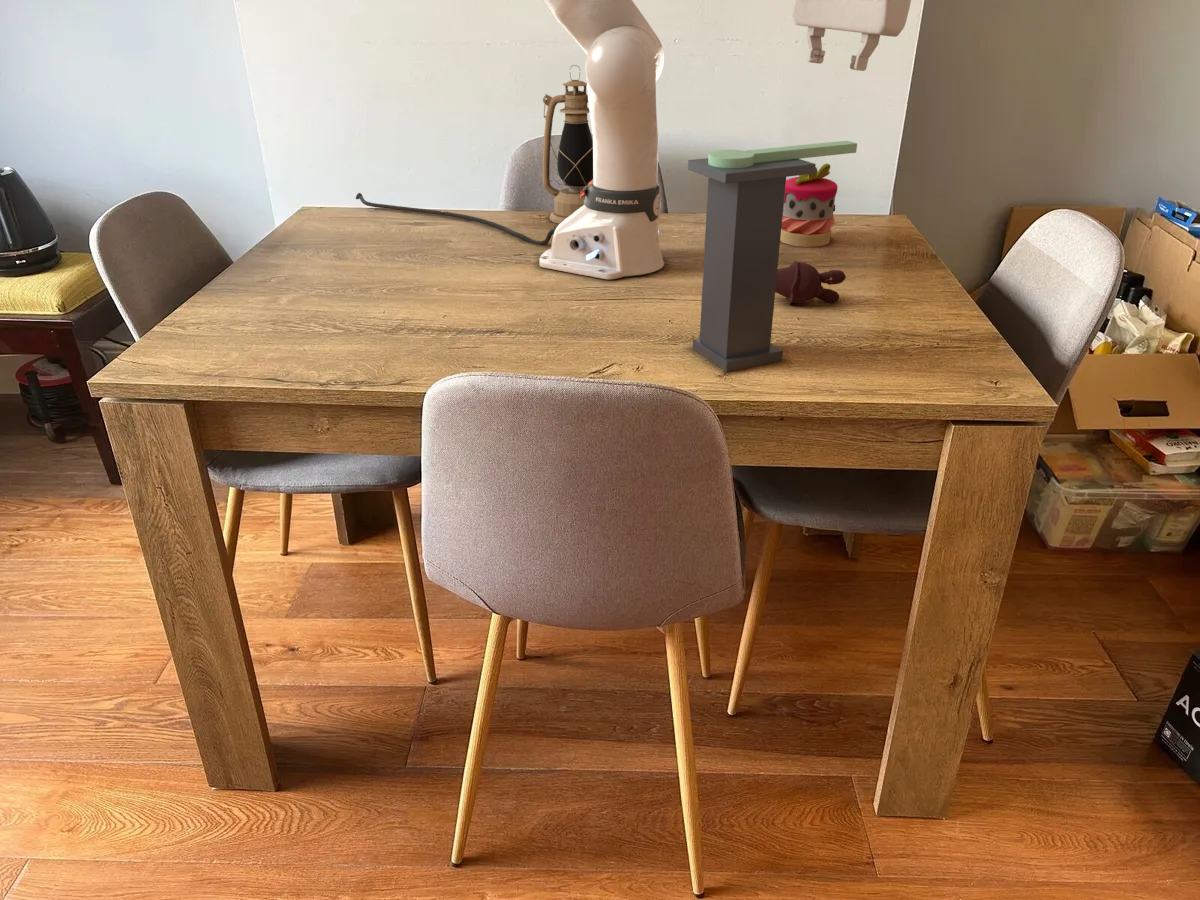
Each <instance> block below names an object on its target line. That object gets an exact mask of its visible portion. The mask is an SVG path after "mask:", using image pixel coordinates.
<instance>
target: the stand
mask: <svg viewBox="0 0 1200 900" xmlns="http://www.w3.org/2000/svg"><path fill="white" fill-rule="evenodd" d="M816 165H817V164H816V163H814V162H811V161H807V160H805V159H802V158H801V159H792V160H783V161H773V162H764V163H754V165H753V166H751V167H747V168H738V169H729V168H718V167H713V166H711V165H709V164H708V157H706V158H694V159H688V160H687V170H688V171H690V172H693V173H696V174H699V175H701V176H703V177H706V178H707V197H706V213H705V214H706V216H705V230H704V231H705V233H704V252H703V268H702V269H703V270H702V288H701V309H700V324H699V337H697V338H692V350H693V351H695V352H697V353H698V354H699V355H701V356H702V357H704V358H705V359H707V360H708V361H710V362H711V363H712V364H713V365H715V366H717V367H718V368H720V370H723V371H724V372H726V373H729V372H733V371H737V370H738V371H739V370H743V369H747V368H754V367H757V366H763V365H767V364H772V363H777V362H781V361H783V356H784V355H783V354H784V350H783V349H781V348H779V347H778V346H776V345H774V344H773V343H771V341H772V331H773V321H774V310H775V299H776V292H775V290H776V280H777V269H779V258H780V247H781V241H780V238H781V227H782V217H783V207H784V196H785V186H786V180H787V177H788V178H789V177H794V176H795V177H799V175H806V174H814V173H815V167H816Z"/></svg>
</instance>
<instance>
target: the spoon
mask: <svg viewBox="0 0 1200 900" xmlns="http://www.w3.org/2000/svg"><path fill="white" fill-rule="evenodd" d="M857 149H858V143H857V142H854V141H850V140H839V141H828V142H818V143H810V144H809V143H807V144H797V145H789V146H778V147H769V148H768V147H767V148H760V149H748V150H743V149H741V150H740V149H718V150H713V151H710V152H708V154H707V155H708V156H707V158H708V164H709V165H711V166H713V167H718V168H729V169H738V168H747V167H751V166H753V165H754V163H764V162H773V161H783V160H792V159H801V160H802V159H809V158H820V157H829V156H837V155H848V154H856V153H857Z"/></svg>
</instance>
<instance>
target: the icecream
mask: <svg viewBox="0 0 1200 900" xmlns="http://www.w3.org/2000/svg"><path fill="white" fill-rule="evenodd" d="M846 279H847V276H846V274H845V272H844V271H842V270H840V269H830V270H829V271H824V272H819V271H818V269H817V268H816V267H815V266H814V265H813V266H812V265H811V264H809V263H806V262H802V261H797V259H796V260H794V261H793V263H791V264H789V266H785V267H782V268H778V269H777V280H776V290H775V294H778V295H780V296H782V297H784V298H785V300H786V301H787V304H788V305H791V304H792V303H794V304H803V303H807V302H809V301H812V300H813V299H815V298H816V299H817V300H820V301H821V302H824V303H830V304H833V303H836V302H838V301H840V294H839V293H838V291H836V290H833V289H831V288H824V286H823V285H822V284H824V285H825V284H827V285H828V286H831V285H839V284H842V283H843V282H844V281H846Z"/></svg>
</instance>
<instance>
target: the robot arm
mask: <svg viewBox="0 0 1200 900" xmlns="http://www.w3.org/2000/svg"><path fill="white" fill-rule="evenodd" d="M543 2H544V4H545V5H546V7H547V8H548V9H549V11H550V12H551V14H552V15H553V17H554V19H555V20H556V22H558V24H560V25H561V26H562V27H563V28H564V29H565V31H566V32H567V33H568V34H569V35H570V36H571V37H572V38H573V39H574V41H575V42H576V43H577V45H579V47H580V48H581V49H582V51H583V52H584V53H585V55H586V59H585V69H584V70H585V77H586V83H587V86H586V91H587V95H588V101H589V103H588V108H589V110H590V113H589V117H590V124H591V135H592V140H593V180H592V181H591V182H589V184H588V186H586V187H585V188H583V191H581V192H580V193H582V194H581V196H580V198H583V200H584V205H583V206H582V207H580V208H579V209H578V210H576V211H575V212H574V213H573V214H571V215H570V216H569V217H568V218H566V219H565V220H564V221H563V222H562V223H560V224H559V223H557V224H554V225H553V228H551V229H549V231H548V232H547V234H546V237H545V239H543V240H539V241H538V240H535V239H532V238H530V237H529V236H527V235H524V234H523V233H520V232H517V231H515V230H512V229H511V228H508V227H506V226H504V225H502V224H499V223H496V222H494V221H491V220H488V219H484V218H480V217H476V216H472V215H467V214H462V213H458V212H457V213H456V212H450V211H444V212H441V211H442V210H435V209H427V208H420V207H411V206H410V207H409V206H401V205H392V204H386V203H385V204H384V203H375V202H371V201H367V200H365V198H364V196H363V194H362V193H361V192H358V193H357V194H356V196H355V200H359V201H360V202H361V203H362V204H363V205H365V206H366V207H371V208H377V209H386V210H396V211H403V212H410V213H411V212H413V213H420V214H428V215H435V216H436V215H438V216H445V217H451V218H457V219H463V220H467V221H472V222H477V223H480V224H483V225H487V226H490V227H494V228H496V229H498V230H501V231H503V232H505V233H507V234H509V235H511V236H513V237H516V238H518V239H521V240H523V241H525V242H527V243H529V244H533V245H537V246H545V245H548V244H549V242H550V241H551V247H550V248H548V249H547V250H545V251H544V252H542V254H541V255H540V256H539V263H538V264H539V267H541V268H542V269H543V268H544V269H549V270H554V271H558V272H559V271H560V272H565V273H570V274H574V275H580V276H585V277H591V278H596V279H602V280H616V279H620V278H623V277H633V276H642V275H648V274H651V273H654V272H658V271H659V270H661V269H662V268H663V267H664V266H665V261H664V257H663V253H662V248H661V242H660V234H659V233H660V230H659V224H658V223H659V222H658V218H659V217H660V216H659V215H660V210H661V194H660V184H659V183H658V170H659V169H658V167H659V166H658V164H659V131H658V118H657V81H658V80H659V79H660V76H661V74H662V72H663V69H664V66H665V65H664V64H665V52H664V47H663V45H662V42H661V40H660V38H659V37H658V35H657V34H656V32H655V31H654V29H653V27H652V26H651V25H650V24H649V22H648V21H647V19H646V18H645V16H644V14H643V13H642V12H641V11H640V9H639V8H638V6H637V5H636V3H635V2H634V1H633V0H543ZM911 3H912V0H795V4H794V7H793V12H792V19H793V23H794V25H795V26H800V27H806V28H807V32H806V39H807V45H808V49H809V51H808V55H807V62H808V63H812V64H818V65H819V64H823V62H824V57H825V56H826V50H823V44H822V38H824V37H825V35H826V34H825V33H826V30H833V31H842V32H851V33H860V34H861V35H860V40H859V42H860V43H861V45H860V47H859V48H858V51H857V53H856V54H855V55H853V54H852V55H851V58H850V63H849V68H850V70H853V71H861V72H864V71H866V70H867V67H868V63H869V59H870V57H871V56H872V55H873V53H874V52H875V50H876V48H877V47H878V46H879V43H880V38H881V36H883V37H893V38H896V37H898V36H899V35H900V34H901V33H902V32H903V30H904V29H905V26H906V24H907V20H908V16H909V11H910V7H911ZM551 238H552V240H551Z"/></svg>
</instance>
